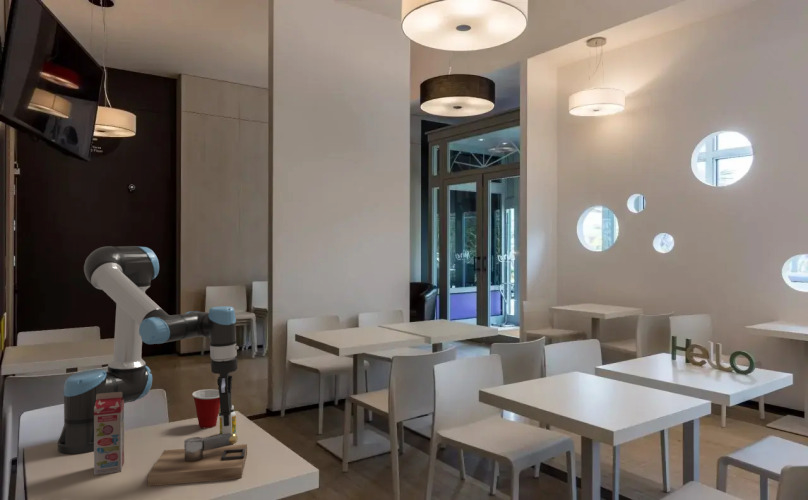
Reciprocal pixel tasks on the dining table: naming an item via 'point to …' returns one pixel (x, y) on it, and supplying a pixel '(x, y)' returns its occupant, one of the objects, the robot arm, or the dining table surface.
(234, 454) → the lever stand
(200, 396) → the plastic cup
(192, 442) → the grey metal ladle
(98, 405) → the juice carton
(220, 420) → the supplement bottle
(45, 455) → the dining table surface
